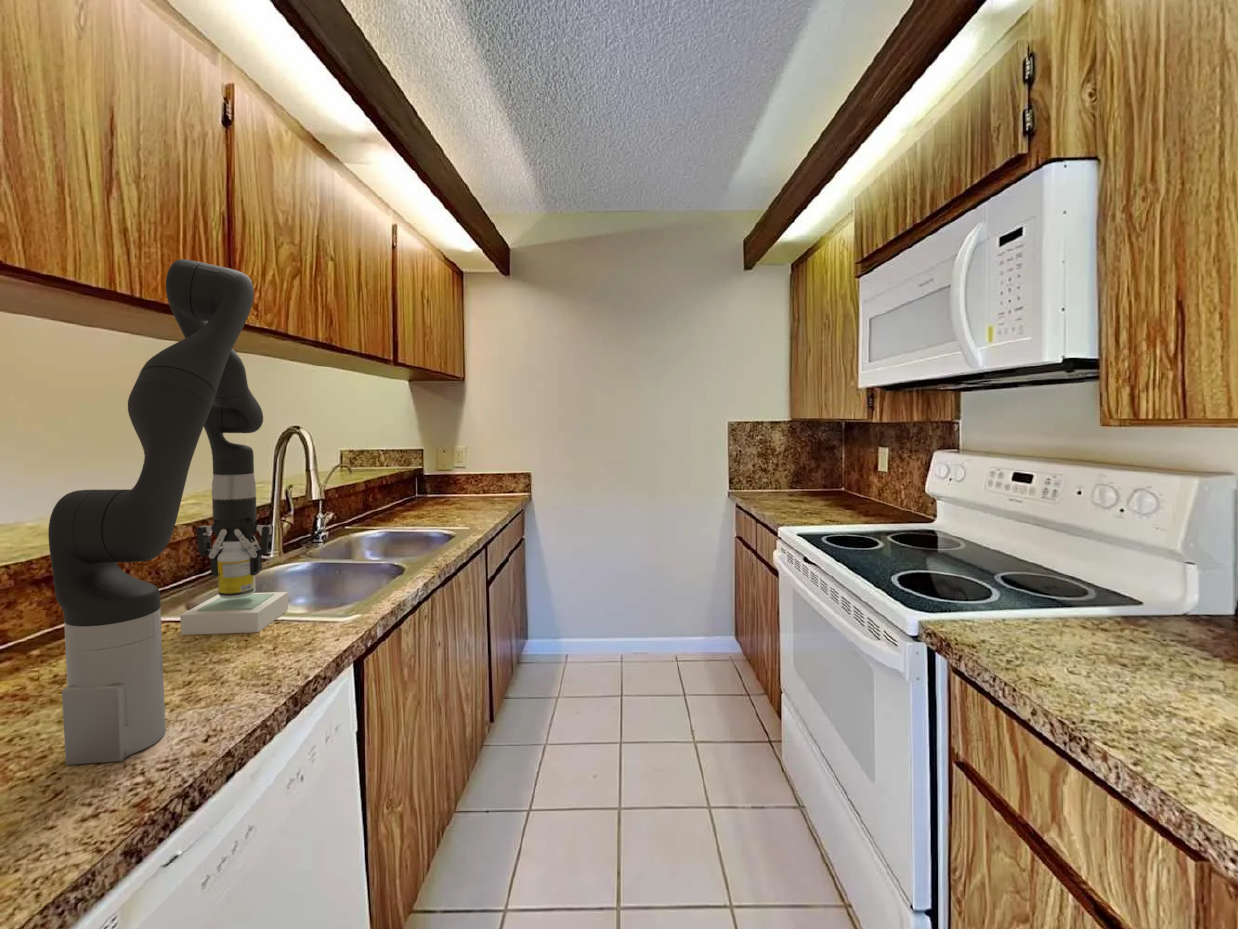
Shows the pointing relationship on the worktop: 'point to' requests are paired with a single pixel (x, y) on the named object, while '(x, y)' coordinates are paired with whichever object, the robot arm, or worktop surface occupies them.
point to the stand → (234, 614)
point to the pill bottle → (235, 571)
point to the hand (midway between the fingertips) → (236, 574)
